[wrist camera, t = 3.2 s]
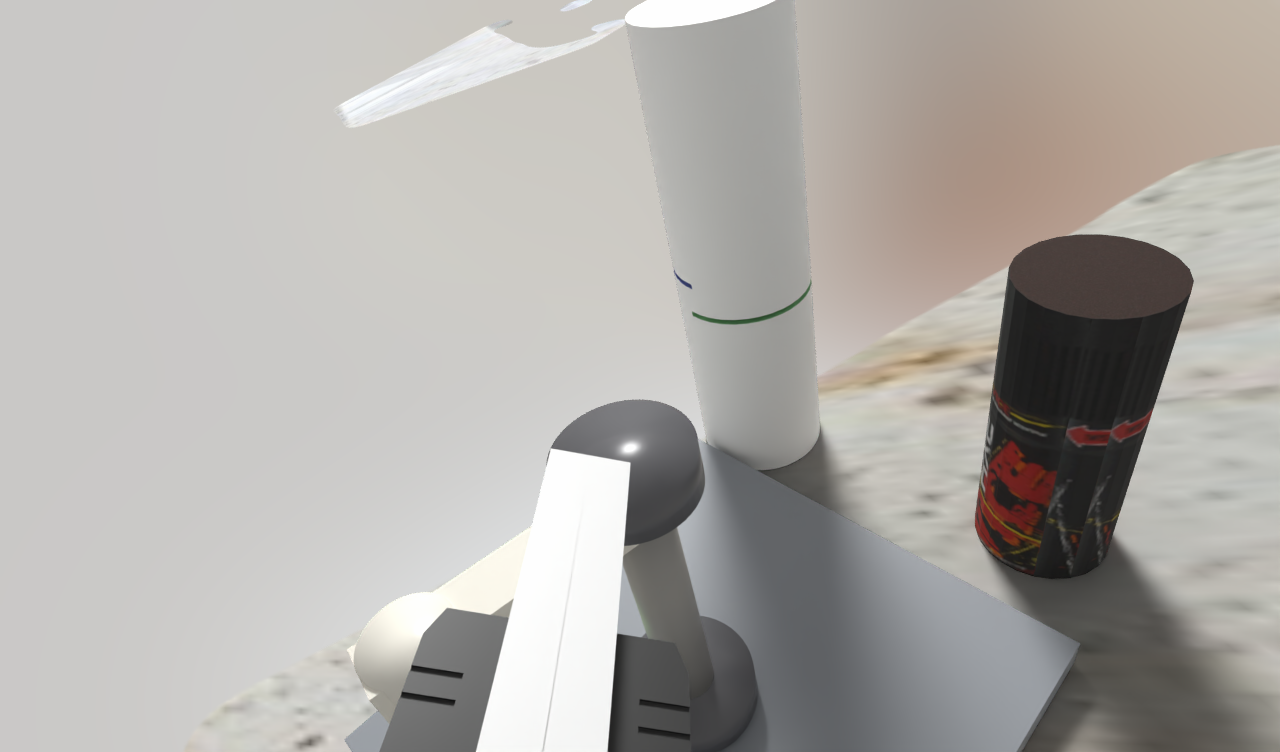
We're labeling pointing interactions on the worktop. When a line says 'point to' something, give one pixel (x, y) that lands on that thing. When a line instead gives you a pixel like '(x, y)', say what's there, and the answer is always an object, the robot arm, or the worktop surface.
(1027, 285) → the deodorant
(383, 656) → the post stand with crossbar
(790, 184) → the cylindrical container
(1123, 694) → the worktop surface
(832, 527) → the plate
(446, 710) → the robot arm
